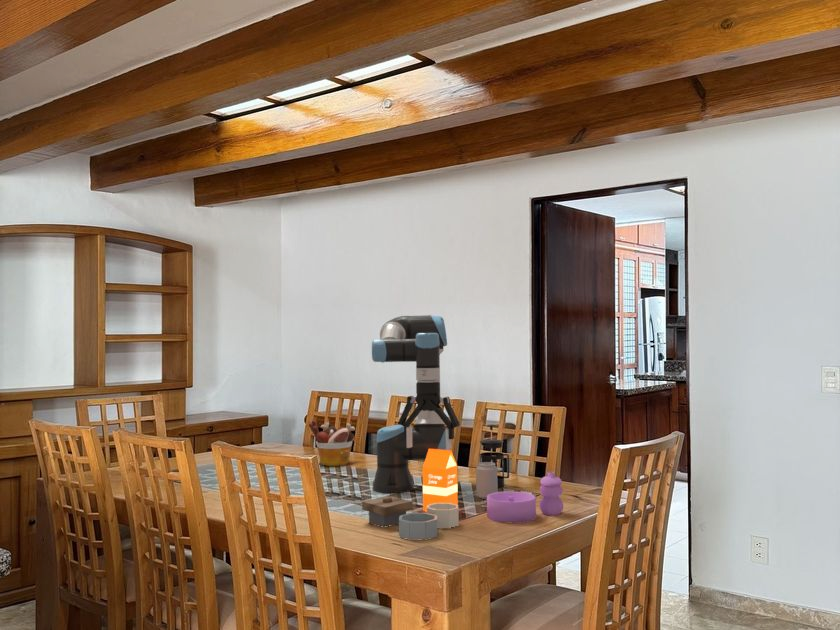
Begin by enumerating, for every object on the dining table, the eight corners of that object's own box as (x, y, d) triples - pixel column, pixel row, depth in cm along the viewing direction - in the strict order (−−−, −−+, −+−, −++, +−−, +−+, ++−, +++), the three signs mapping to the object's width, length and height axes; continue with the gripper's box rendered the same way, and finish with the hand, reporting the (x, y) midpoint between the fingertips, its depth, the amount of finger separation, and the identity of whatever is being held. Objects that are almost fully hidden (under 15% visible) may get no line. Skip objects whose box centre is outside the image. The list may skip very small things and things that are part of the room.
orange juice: (446, 515, 247) (445, 452, 247) (422, 511, 252) (421, 450, 252) (458, 509, 254) (457, 448, 254) (435, 506, 258) (434, 446, 259)
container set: (497, 525, 234) (496, 481, 235) (480, 513, 249) (479, 472, 249) (572, 518, 241) (572, 476, 241) (552, 507, 256) (551, 467, 256)
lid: (362, 509, 239) (362, 498, 239) (389, 503, 246) (389, 492, 246) (385, 515, 231) (385, 504, 231) (412, 509, 238) (412, 498, 238)
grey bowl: (391, 535, 224) (391, 517, 224) (419, 527, 232) (419, 511, 232) (417, 542, 216) (417, 524, 216) (445, 534, 224) (445, 517, 224)
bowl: (420, 524, 235) (420, 506, 235) (442, 519, 242) (442, 501, 242) (442, 530, 228) (442, 511, 228) (465, 524, 235) (464, 506, 235)
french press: (480, 489, 285) (480, 426, 285) (475, 484, 294) (474, 423, 294) (512, 488, 287) (511, 425, 287) (505, 482, 296) (504, 422, 296)
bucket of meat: (351, 459, 352) (351, 416, 352) (359, 466, 336) (358, 420, 336) (307, 462, 346) (307, 418, 346) (313, 469, 330) (312, 422, 331)
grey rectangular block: (369, 523, 238) (368, 510, 238) (391, 518, 244) (390, 505, 244) (384, 527, 233) (383, 514, 233) (406, 521, 239) (405, 508, 239)
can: (496, 500, 267) (496, 465, 267) (475, 499, 268) (474, 464, 269) (498, 495, 274) (498, 461, 274) (477, 494, 276) (477, 461, 276)
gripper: (387, 381, 247) (388, 448, 247) (460, 382, 237) (461, 452, 237) (398, 380, 254) (398, 444, 254) (469, 381, 244) (470, 448, 243)
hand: (428, 448), depth 245 cm, fingers open, 13 cm apart
